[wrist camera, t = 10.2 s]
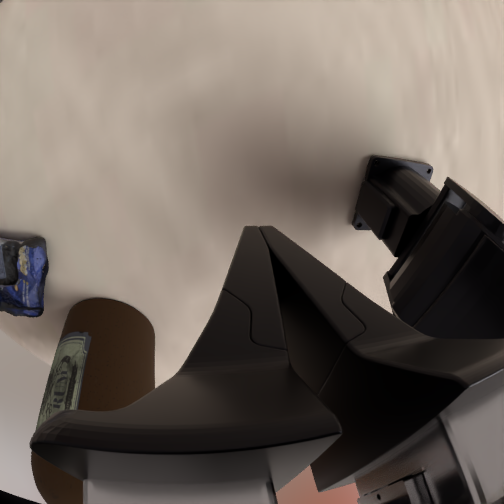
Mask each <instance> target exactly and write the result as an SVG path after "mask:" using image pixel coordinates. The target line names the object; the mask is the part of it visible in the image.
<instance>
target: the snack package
mask: <svg viewBox="0 0 504 504" xmlns="http://www.w3.org/2000/svg"><path fill="white" fill-rule="evenodd" d="M44 264H45V266H44ZM43 266H44V268H43ZM42 268H43V269H42ZM48 269H49V264H48V257H47V251H46V241H45V239H44V238H39V237H36V238H32V239H28V240H23V241H17V240H9V239H5V238H0V311H6V312H7V313H10V314H11V315H13V316H27V317H33V318H34V317H39V316H41V315H42V314H43V311H44V301H43V298H44V293H43V292H44V286H45V279H46V275H47V273H48ZM42 271H43V272H42Z"/></svg>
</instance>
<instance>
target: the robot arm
mask: <svg viewBox="0 0 504 504" xmlns="http://www.w3.org/2000/svg"><path fill="white" fill-rule="evenodd" d="M376 160H377V163H376V164H374V163H375V161H376ZM427 169H428V171H427ZM432 173H433V167H432V166H431V165H429V164H426V163H421V162H415V161H409V160H404V159H397V158H391V157H384V156H377V155H374V156H372V157H371V158H370V160H369V163H368V167H367V171H366V175H365V179H364V182H363V183H362V187H361V190H360V194H359V198H358V201H357V205H356V209H355V210H356V212H355V215H354V219H353V222H352V225H353V227H354V228H355V229H356V230H372V232H373V233H374V234H375V236H376V237H377V238H378V239H379V240H382V241H383V242H384V244H385V245H386V246H387V247H388V249H389V250H390V251H391V253H392V254H393V255H394V257H398V259H397V260H396V262H395V263H394V265H393V266H392V267H391V269H390V270H389V271H387V272H386V274H385V275H384V276H383V279H384V283H385V286H386V290H387V293H388V297H389V301H390V304H391V308H392V312H393V314H391V313H389V312H388V311H386V310H385V309H383V308H382V307H380V306H379V305H377V304H376V303H375V302H373V301H372V300H370V299H369V298H367V297H366V296H365V295H363V294H362V293H361V292H359V291H358V290H357V289H355V288H354V287H353V286H351V285H350V284H349V283H346V281H345V280H343V279H342V278H341V277H340V276H338V275H337V274H336V273H334V272H333V271H332V270H330V269H329V268H328V267H326V266H325V265H324V264H323V263H321V262H320V261H319V260H317V259H316V258H315V257H313V256H312V255H311V254H309V253H308V252H307V251H305V250H304V249H303V248H301V247H300V246H299V245H297V244H296V243H295V242H293V241H292V240H291V239H289V238H288V237H286V236H285V235H284V234H282V233H281V232H280V231H278V230H277V229H276V228H274V227H273V226H259V227H258V226H245V227H244V229H243V232H242V234H241V237H240V240H239V243H238V246H237V248H236V251H235V254H234V257H233V260H232V262H231V265H230V268H229V271H228V274H227V277H226V279H225V282H224V285H223V288H222V291H221V293H220V296H219V299H218V301H217V304H216V306H215V308H214V311H213V313H212V315H211V317H210V319H209V321H208V323H207V325H206V326H205V328H204V330H203V332H202V333H201V335H200V337H199V339H198V340H197V342H196V344H195V345H194V347H193V349H192V351H191V352H190V354H189V356H188V358H187V359H186V361H185V362H184V364H183V365H182V367H181V368H180V370H179V371H178V372H177V373H176V374H175V375H174V376H173V377H172V378H170V379H169V380H167V381H166V382H164V383H163V384H161V385H160V386H158V387H157V388H155V389H154V390H152V391H151V392H149V393H148V394H146V395H145V396H143V397H142V398H140V399H139V400H137V401H135V402H134V403H132V404H131V405H129V406H127V407H124V408H121V409H118V410H113V411H86V410H72V409H69V410H61V411H58V412H55V413H54V414H53V415H51V416H50V417H49V418H48V419H47V420H45V421H44V422H43V423H42V424H41V425H40V426H39V427H38V428H37V430H36V431H35V433H34V434H33V437H32V438H31V441H30V448H31V449H32V451H33V452H34V453H36V454H37V455H38V456H40V457H41V458H43V459H44V460H46V461H48V462H49V463H51V464H53V465H54V466H56V467H58V468H59V469H61V470H63V471H65V472H66V473H68V474H70V475H72V476H74V477H76V478H77V479H79V480H81V481H83V504H278V502H277V498H276V492H277V491H278V490H280V489H281V488H282V487H283V486H285V485H286V484H287V483H289V482H290V481H291V480H292V479H293V478H295V477H296V476H297V475H298V474H299V473H301V472H302V471H303V470H304V469H305V468H306V467H308V466H309V465H310V466H311V469H312V473H313V476H314V480H315V483H316V486H317V490H318V492H323V491H327V490H330V489H334V488H338V487H341V486H345V485H348V484H351V483H354V482H355V483H356V486H357V490H358V493H359V496H360V498H358V500H357V502H358V504H504V221H503V220H502V219H501V218H500V217H499V216H498V215H497V214H496V213H495V212H494V211H493V210H491V209H490V208H489V207H488V206H487V205H486V204H484V203H483V202H482V201H481V200H479V199H478V198H477V197H476V196H474V195H473V194H472V193H470V192H469V191H468V190H466V189H465V188H463V187H462V186H461V185H459V184H458V183H456V182H455V181H453V180H452V179H451V178H449V177H447V179H446V180H445V182H444V184H445V185H444V187H443V188H442V190H441V191H440V190H439V189H438V188H436V187H435V186H434V185H433V184H432V183H430V179H431V176H432ZM358 223H360V224H358ZM357 224H358V225H357ZM0 504H40V503H37V502H34V501H30V500H27V499H24V498H21V497H18V496H15V495H12V494H9V493H7V492H4V491H2V490H0Z"/></svg>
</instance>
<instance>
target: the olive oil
mask: <svg viewBox="0 0 504 504" xmlns="http://www.w3.org/2000/svg"><path fill="white" fill-rule="evenodd" d="M154 389H155V333H154V329H153V326H152V324H151V323H150V321H149V320H148V319H147V318H146V317H145V316H144V315H143V314H142V313H140V312H139V311H138V310H136V309H135V308H133V307H131V306H129V305H127V304H124V303H122V302H118V301H115V300H110V299H89V300H85V301H82V302H80V303H78V304H76V305H75V306H74V307H73V308H72V309H71V310H70V312H69V314H68V316H67V319H66V322H65V325H64V328H63V331H62V335H61V338H60V341H59V344H58V347H57V350H56V354H55V357H54V360H53V364H52V367H51V371H50V374H49V378H48V381H47V385H46V389H45V393H44V397H43V401H42V405H41V409H40V413H39V417H38V422H37V427H36V430H37V428H38V427H39V426H40V425H41V424H42V423H43V422H44V421H45V420H47V419H48V418H49V417H50V416H51V415H53V414H54V413H55V412H58V411H61V410H69V409H72V410H86V411H113V410H118V409H121V408H124V407H127V406H129V405H131V404H132V403H134V402H135V401H137V400H139V399H140V398H142V397H143V396H145V395H146V394H148V393H149V392H151V391H152V390H154ZM31 454H32V455H31V465H32V471H33V476H34V480H35V483H36V486H37V489H38V490H39V492H40V494H41V496H42V497H43V499H44V500H45V501H46V503H47V504H83V481H81V480H79V479H77V478H76V477H74V476H72V475H70V474H68V473H66V472H65V471H63V470H61V469H59V468H58V467H56V466H54V465H53V464H51V463H49V462H48V461H46V460H44V459H43V458H41V457H40V456H38V455H37V454H36V453H34V452H33V451H32V452H31Z"/></svg>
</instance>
